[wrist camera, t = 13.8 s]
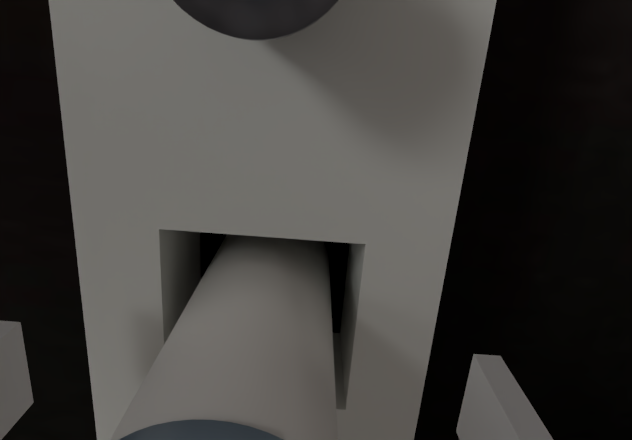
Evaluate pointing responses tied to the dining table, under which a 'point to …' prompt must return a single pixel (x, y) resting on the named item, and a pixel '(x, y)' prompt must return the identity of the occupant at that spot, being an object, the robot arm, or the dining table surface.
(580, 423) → the dining table surface
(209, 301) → the cartridge
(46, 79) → the dining table surface
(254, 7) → the plunger
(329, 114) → the housing
